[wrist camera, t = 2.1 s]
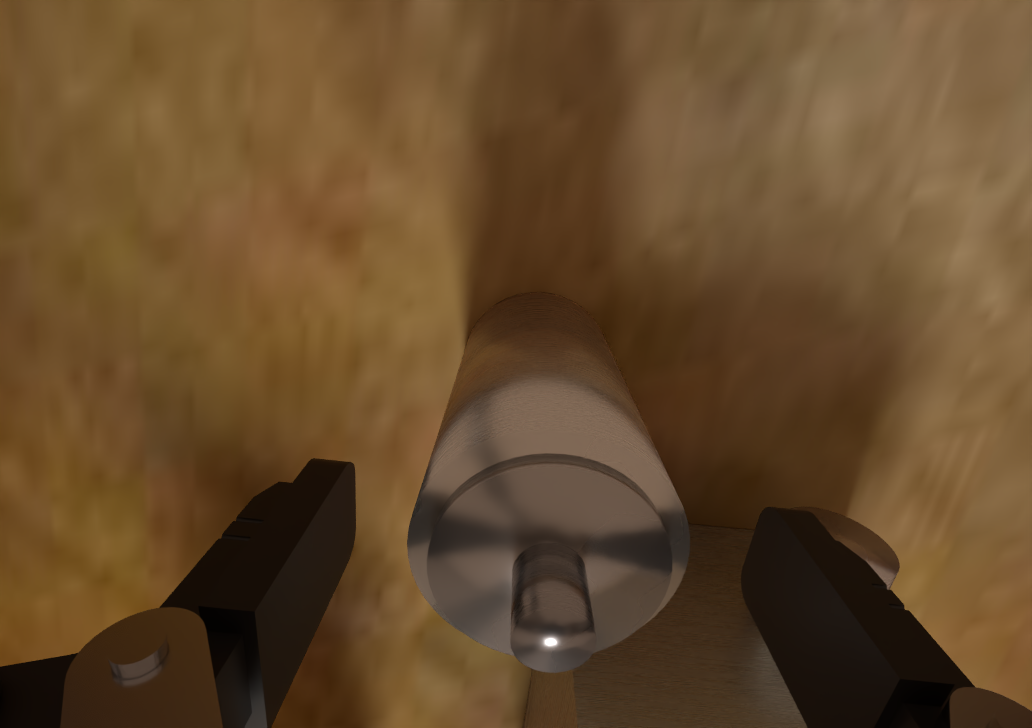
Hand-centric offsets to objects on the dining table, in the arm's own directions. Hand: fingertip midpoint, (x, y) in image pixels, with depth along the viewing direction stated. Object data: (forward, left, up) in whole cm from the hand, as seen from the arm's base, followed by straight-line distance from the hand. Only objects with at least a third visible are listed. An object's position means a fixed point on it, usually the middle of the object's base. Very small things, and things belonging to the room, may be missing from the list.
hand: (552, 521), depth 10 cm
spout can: (0, 0, -8) cm, 8 cm away
